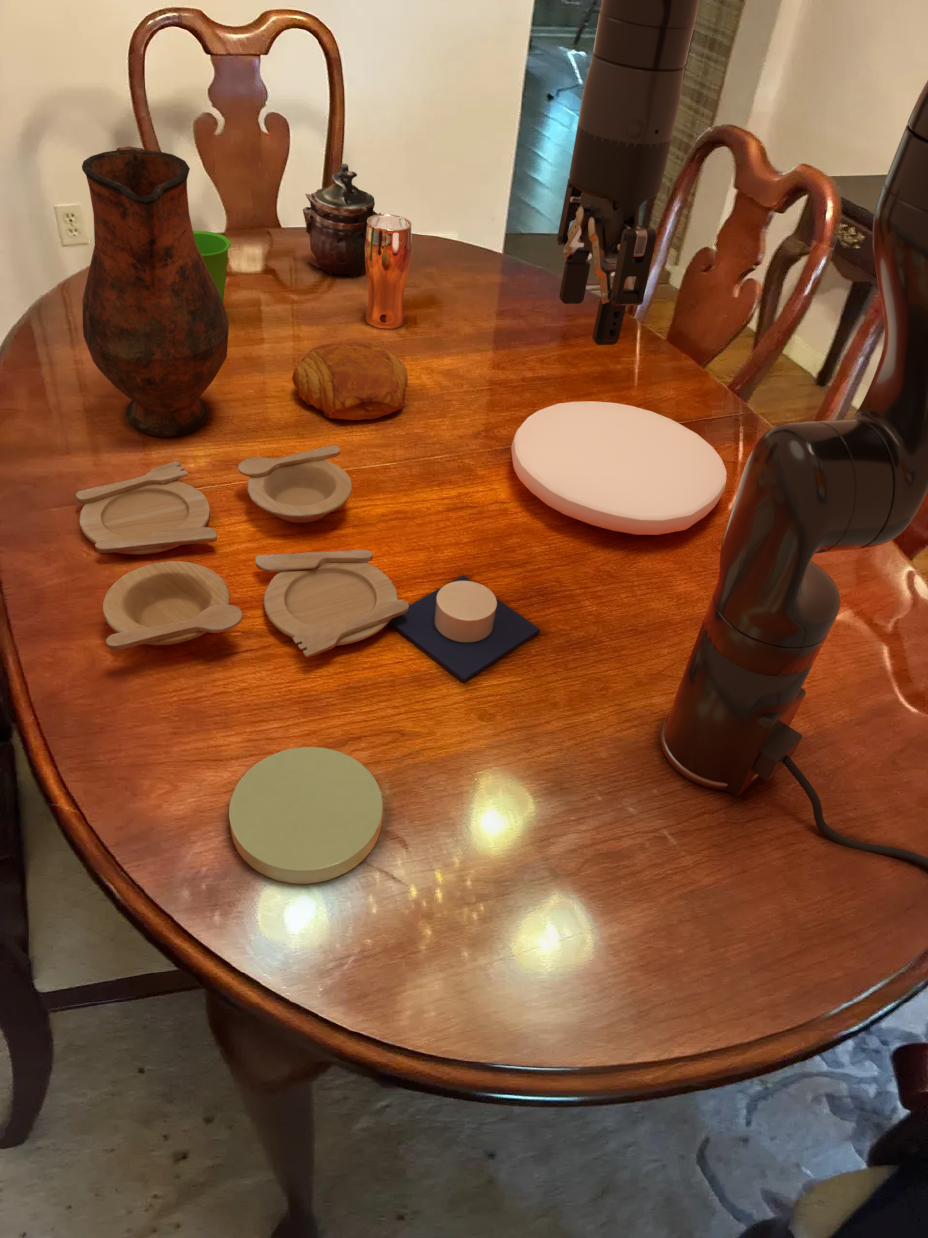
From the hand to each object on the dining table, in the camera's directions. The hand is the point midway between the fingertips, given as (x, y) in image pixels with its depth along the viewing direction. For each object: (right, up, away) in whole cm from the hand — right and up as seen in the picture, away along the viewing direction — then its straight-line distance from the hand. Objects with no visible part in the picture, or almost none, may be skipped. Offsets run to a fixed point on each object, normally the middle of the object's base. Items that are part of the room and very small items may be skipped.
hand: (586, 321), depth 83 cm
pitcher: (-49, 0, +35) cm, 61 cm away
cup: (-50, +19, +56) cm, 78 cm away
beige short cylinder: (-11, -27, +9) cm, 31 cm away
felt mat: (-11, -28, +10) cm, 31 cm away
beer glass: (-24, +20, +61) cm, 68 cm away
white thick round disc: (+8, -10, +33) cm, 35 cm away
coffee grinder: (-31, +32, +74) cm, 86 cm away
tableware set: (-35, -21, +13) cm, 43 cm away
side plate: (-24, -43, -9) cm, 50 cm away
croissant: (-26, +3, +42) cm, 49 cm away
